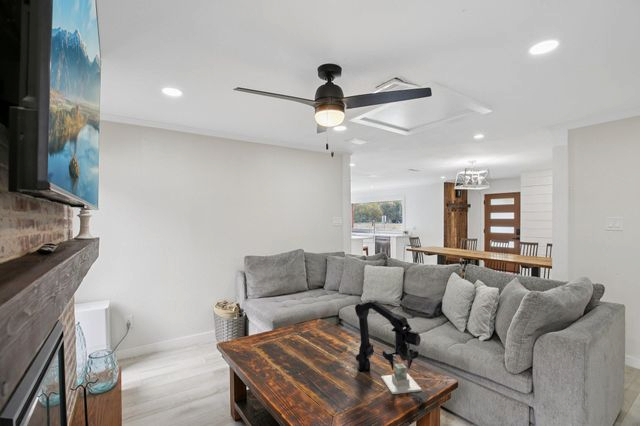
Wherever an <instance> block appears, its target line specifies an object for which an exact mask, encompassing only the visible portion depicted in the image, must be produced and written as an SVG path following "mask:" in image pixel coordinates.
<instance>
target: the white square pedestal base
mask: <svg viewBox="0 0 640 426" xmlns="http://www.w3.org/2000/svg"><path fill="white" fill-rule="evenodd" d="M381 379H382V381H383V383H384V384H385V385H386V386H387V388H388V390H389V391H390V394H392V395H397V394H405V393H407V394H408V393H416V392H421V391H422V388H421V387H420V385H418V383H417V382H416V381H415V380H414V378H413V377H412V376H411V375H410V374H409V373H408V372H407V379H400V380H398V379H397V378H396V376H395V375H394V373H392V374H390V375H389V374H388V375H381Z"/></svg>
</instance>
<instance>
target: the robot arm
mask: <svg viewBox="0 0 640 426" xmlns="http://www.w3.org/2000/svg"><path fill="white" fill-rule="evenodd" d="M371 309H372V310H373V311H374V312H376V313H377V314H379V315H380V316H382V317H383V318H385V319H387V320H388V322H389V323H390V324H391V326H392V327H393V328H392V329H390V330H391V332H393V333H394V342H393V343H394V345H395V346H394V351H391V350H390V349H385V350H384V349H383V351H382V357H384V359H385V360H386V361H388V363H389V366H390V367H391V368H390V369H391V370H392V371H394V360H395V359H394V357H397V356H399V357H400V360H401V361H404V362H405V361H407V362H406V363H407V370H409V369H410V368H411V365H412V363H413V361H414V360H415V359H417V358H419V357H420V353H419V351H418V350H417V349H416V348H415V346H416V347H419V346H420V343H421V340H422V339H421V336H420V334H419V332H418V331H414V330H413V331H412V327H411V325H410V324H409V322H408V319H407V318H406V317H405V316H404V315H401V314H399V313H394V312H393V311H391V310H390V309H388V308H387V307H385V306H384V305H382V304H381V303H379V302H378V300H376V299H375V300H371V301H368V302H367V301H362V302H359V303H357V304H355V306H354V311H355V314H356V315H355V316H357V318H358V321H359V322H358V323H359V333H360V345H359V349H358V350H359V351H358V353H357V355H355V360H356V362H357V366H356V368H357V370H358V372H359V373H368V372H371V361H370V359H371V357H372V356H373V355H374V353H375V348H374V344H371V342H370V336H369V335H370V334H369V323H368V316H369V313H370V310H371ZM408 344H409V345H412V346H414V347H409V348H408Z"/></svg>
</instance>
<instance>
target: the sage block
mask: <svg viewBox="0 0 640 426" xmlns="http://www.w3.org/2000/svg"><path fill="white" fill-rule="evenodd" d="M393 367H394V369H393V371H394V372H393V374H394V375H395V376H396V378H397V379H398V380H400V379H407V373H408V366H406V365H405V364H404V363H403V362H401V363H393Z"/></svg>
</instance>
